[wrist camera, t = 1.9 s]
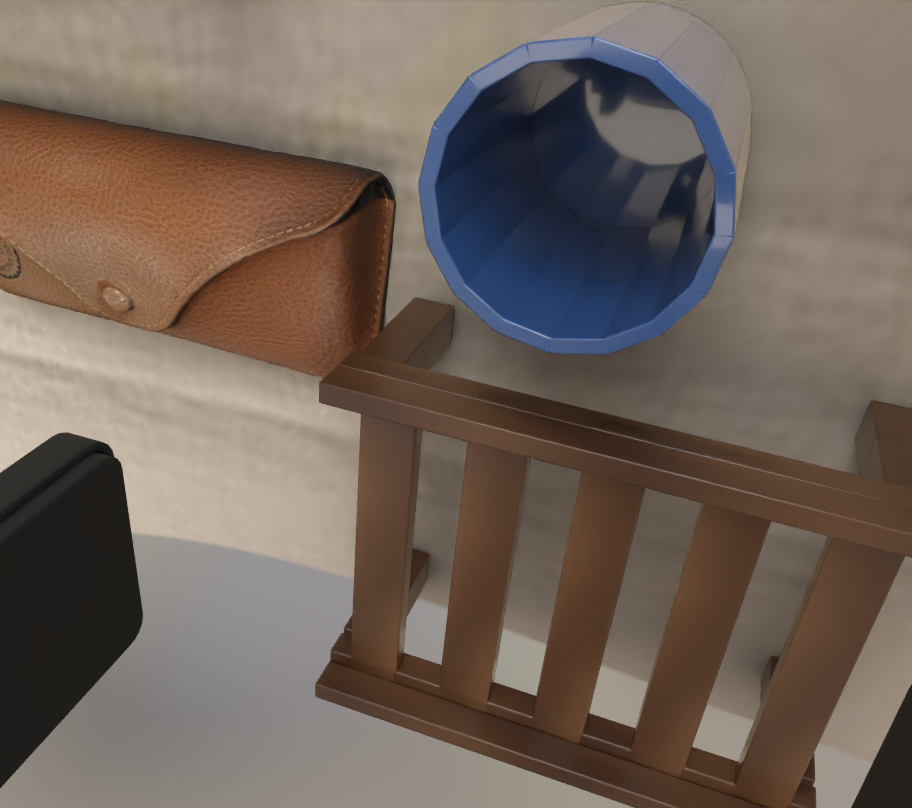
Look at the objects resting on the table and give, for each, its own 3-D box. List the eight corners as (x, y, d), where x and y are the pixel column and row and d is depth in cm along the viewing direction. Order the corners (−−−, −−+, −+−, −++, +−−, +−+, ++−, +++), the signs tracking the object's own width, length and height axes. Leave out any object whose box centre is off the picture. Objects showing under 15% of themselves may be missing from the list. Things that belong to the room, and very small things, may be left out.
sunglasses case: (-16, 296, 36) (-163, 264, 30) (22, 132, 36) (-118, 64, 30) (382, 392, 32) (311, 378, 26) (426, 206, 32) (366, 146, 26)
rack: (390, 572, 37) (314, 697, 31) (410, 291, 30) (318, 381, 24) (803, 698, 33) (806, 868, 27) (929, 407, 27) (970, 548, 21)
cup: (486, 72, 26) (366, 133, 19) (697, -47, 23) (653, -31, 16) (580, 266, 28) (505, 391, 21) (786, 180, 25) (785, 292, 17)
